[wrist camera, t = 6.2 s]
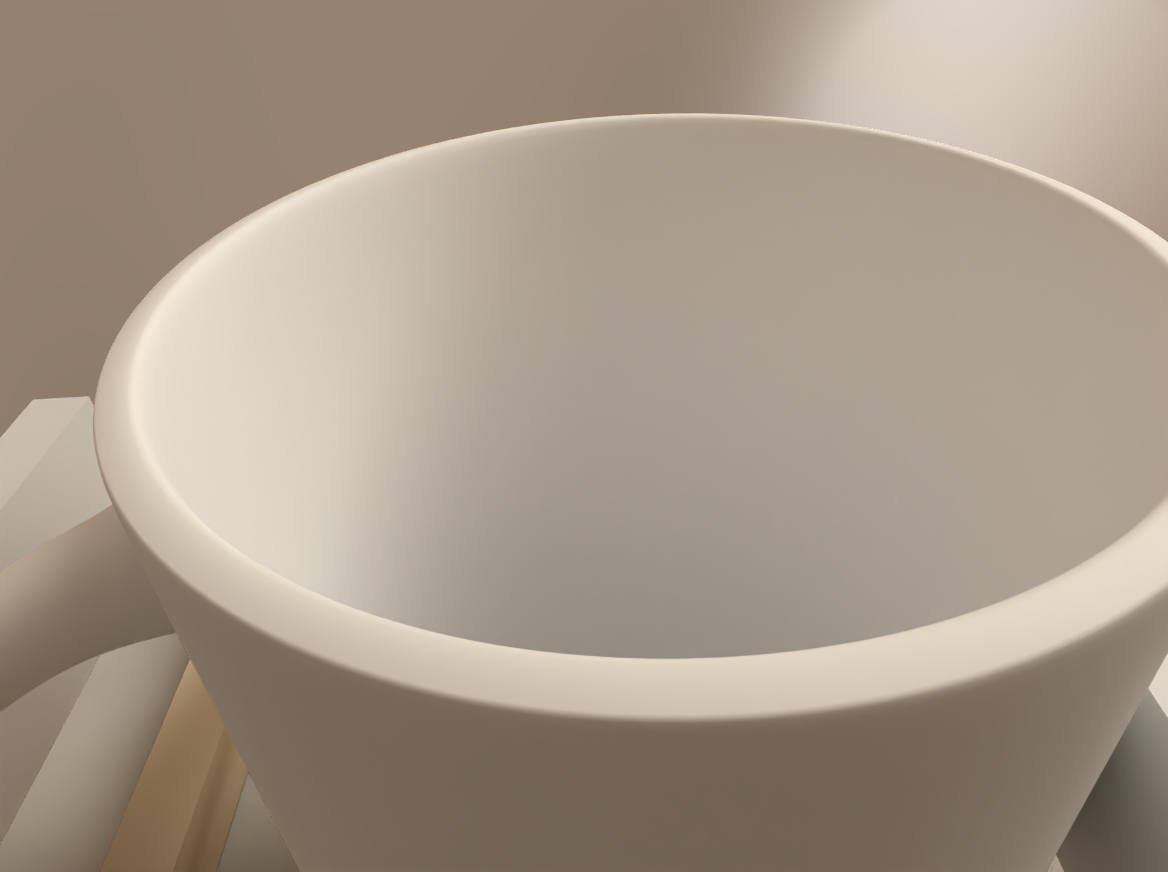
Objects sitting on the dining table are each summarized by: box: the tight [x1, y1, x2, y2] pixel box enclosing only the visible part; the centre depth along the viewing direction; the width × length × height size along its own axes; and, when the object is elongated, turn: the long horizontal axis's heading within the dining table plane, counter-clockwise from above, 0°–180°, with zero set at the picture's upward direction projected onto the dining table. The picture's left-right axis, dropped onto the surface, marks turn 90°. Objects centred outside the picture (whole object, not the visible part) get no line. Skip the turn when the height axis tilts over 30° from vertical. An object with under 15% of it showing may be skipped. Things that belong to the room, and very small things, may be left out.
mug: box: [0, 114, 1168, 872], centre depth 10 cm, size 12×8×12 cm
